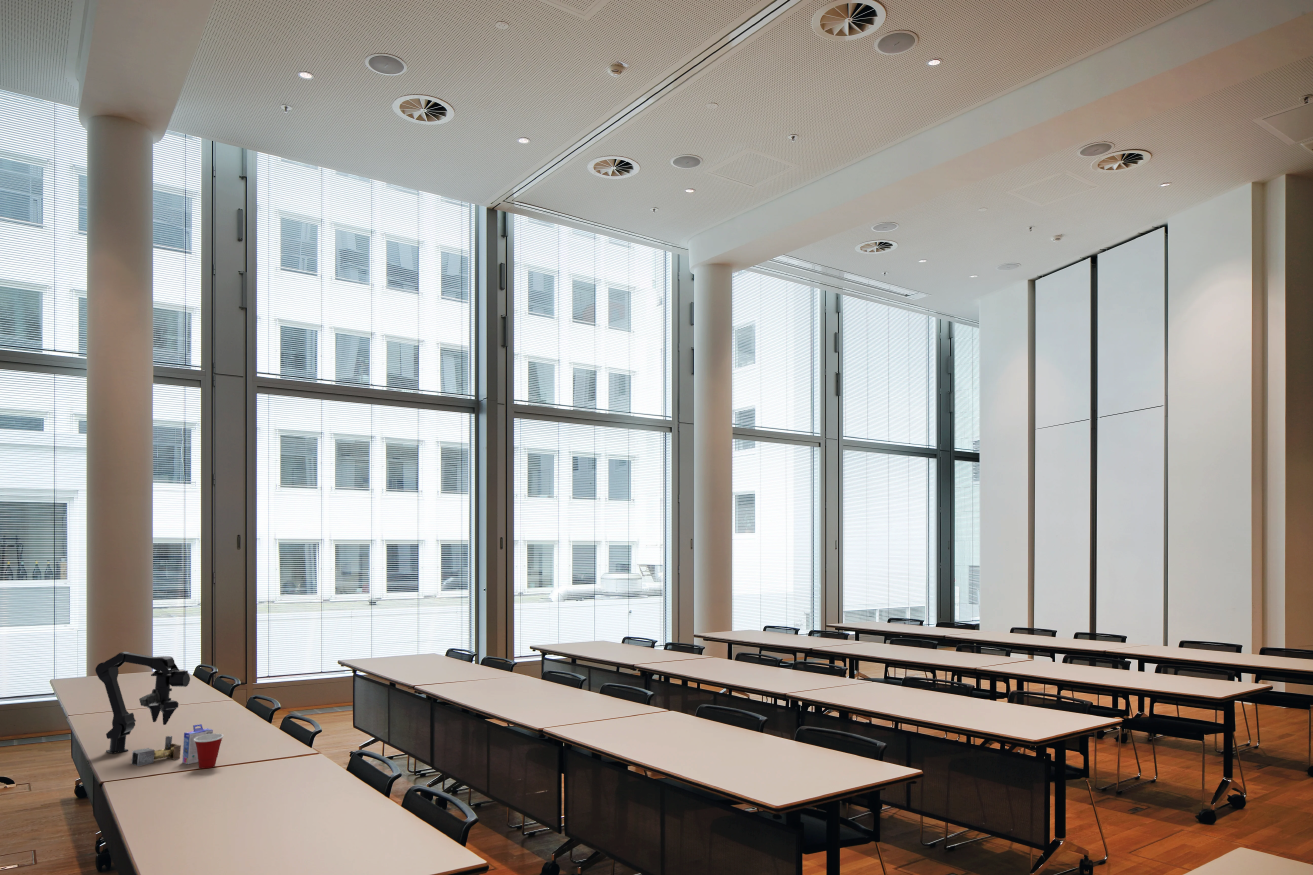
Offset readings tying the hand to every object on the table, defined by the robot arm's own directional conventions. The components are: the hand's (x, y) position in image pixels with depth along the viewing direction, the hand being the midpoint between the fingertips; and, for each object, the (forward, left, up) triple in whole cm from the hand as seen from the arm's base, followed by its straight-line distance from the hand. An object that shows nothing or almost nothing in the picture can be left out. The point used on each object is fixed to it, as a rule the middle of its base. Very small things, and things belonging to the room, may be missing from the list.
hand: (159, 723), depth 364 cm
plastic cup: (+40, +1, -12) cm, 42 cm away
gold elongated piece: (+15, -5, -12) cm, 20 cm away
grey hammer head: (+15, -12, -12) cm, 23 cm away
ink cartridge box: (+28, +3, -12) cm, 31 cm away
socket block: (+15, 0, -12) cm, 19 cm away
